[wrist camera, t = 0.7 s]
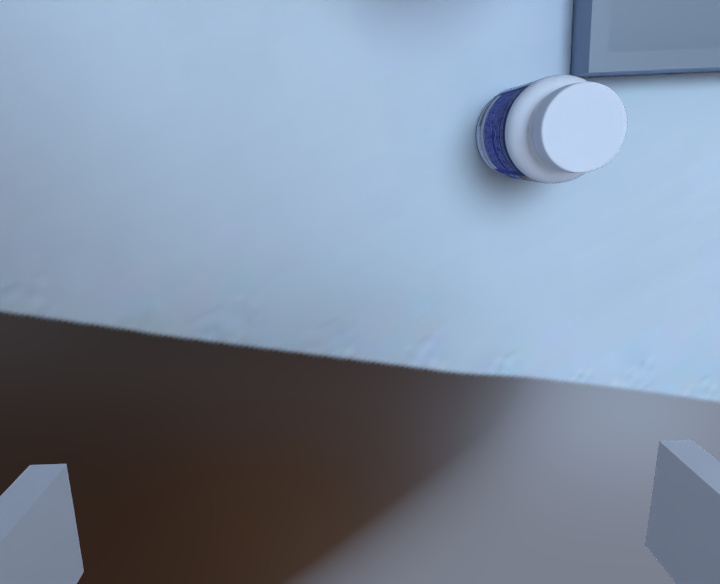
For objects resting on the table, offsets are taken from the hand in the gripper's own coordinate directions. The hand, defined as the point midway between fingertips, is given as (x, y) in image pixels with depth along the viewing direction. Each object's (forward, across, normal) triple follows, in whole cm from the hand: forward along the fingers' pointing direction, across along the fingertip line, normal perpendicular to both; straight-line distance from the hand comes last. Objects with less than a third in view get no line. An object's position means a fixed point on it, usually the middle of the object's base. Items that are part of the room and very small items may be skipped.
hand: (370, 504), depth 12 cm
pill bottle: (+24, +11, +8) cm, 27 cm away
